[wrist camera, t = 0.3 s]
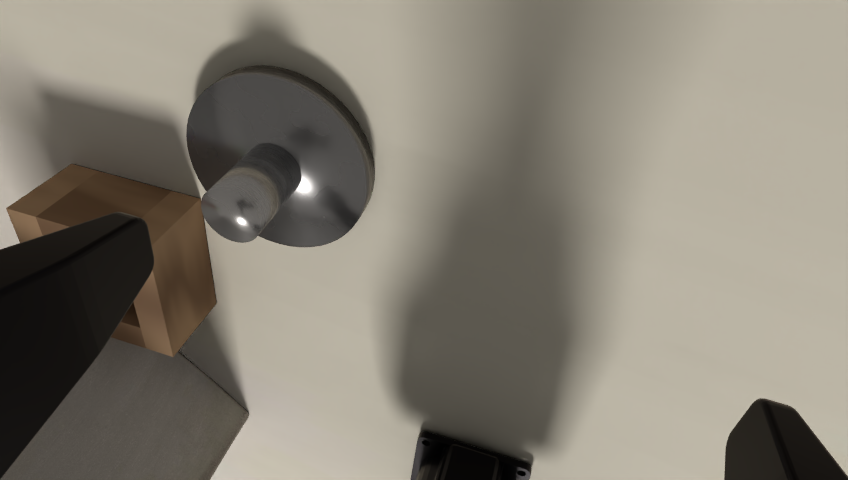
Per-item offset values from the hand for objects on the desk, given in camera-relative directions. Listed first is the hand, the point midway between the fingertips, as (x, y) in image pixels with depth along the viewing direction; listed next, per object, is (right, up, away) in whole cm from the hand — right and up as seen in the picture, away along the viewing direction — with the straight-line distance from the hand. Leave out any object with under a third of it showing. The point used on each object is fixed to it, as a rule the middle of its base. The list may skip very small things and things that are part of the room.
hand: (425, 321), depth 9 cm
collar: (-14, +1, +23) cm, 27 cm away
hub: (-6, +5, +17) cm, 19 cm away
